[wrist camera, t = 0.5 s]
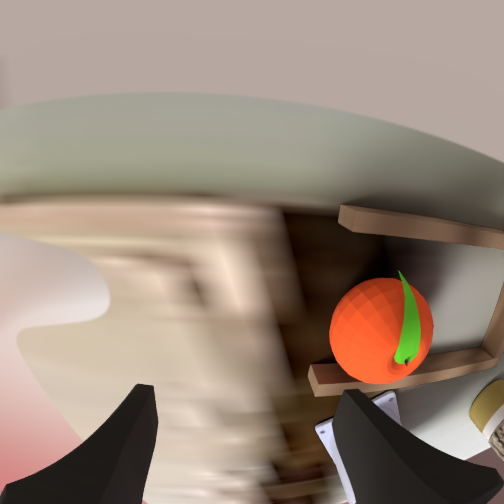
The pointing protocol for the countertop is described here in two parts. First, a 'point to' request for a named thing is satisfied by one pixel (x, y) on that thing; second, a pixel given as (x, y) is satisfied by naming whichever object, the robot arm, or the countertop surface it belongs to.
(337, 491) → the countertop surface
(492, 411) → the paper tube
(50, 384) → the countertop surface
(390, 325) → the clementine
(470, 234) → the holder
